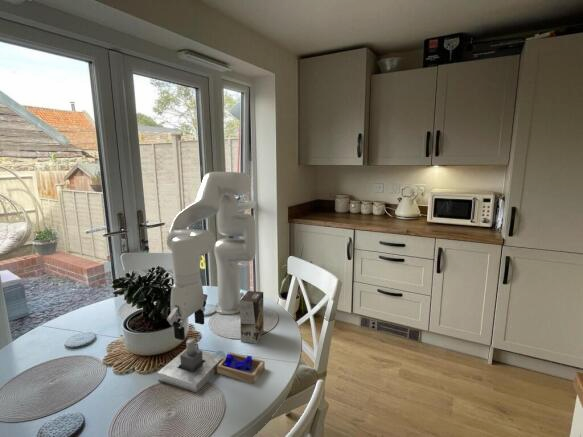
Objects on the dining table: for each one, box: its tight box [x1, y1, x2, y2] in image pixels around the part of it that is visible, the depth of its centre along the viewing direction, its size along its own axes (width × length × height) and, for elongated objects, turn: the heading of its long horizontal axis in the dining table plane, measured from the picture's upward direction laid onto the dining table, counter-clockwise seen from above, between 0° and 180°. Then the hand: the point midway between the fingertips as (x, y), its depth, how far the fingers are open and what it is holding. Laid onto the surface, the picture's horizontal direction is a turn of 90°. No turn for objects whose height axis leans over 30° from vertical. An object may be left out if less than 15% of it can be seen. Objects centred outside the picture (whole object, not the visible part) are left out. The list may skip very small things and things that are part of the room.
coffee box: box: [239, 290, 265, 344], centre depth 119 cm, size 9×6×16 cm
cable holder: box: [224, 353, 253, 372], centre depth 101 cm, size 8×4×4 cm, turn 82°
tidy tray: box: [216, 352, 266, 384], centre depth 100 cm, size 8×13×2 cm, turn 69°
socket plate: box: [157, 347, 225, 393], centre depth 100 cm, size 14×14×3 cm
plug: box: [180, 338, 203, 373], centre depth 99 cm, size 5×5×10 cm
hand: (190, 330), depth 97 cm, fingers open, 8 cm apart
